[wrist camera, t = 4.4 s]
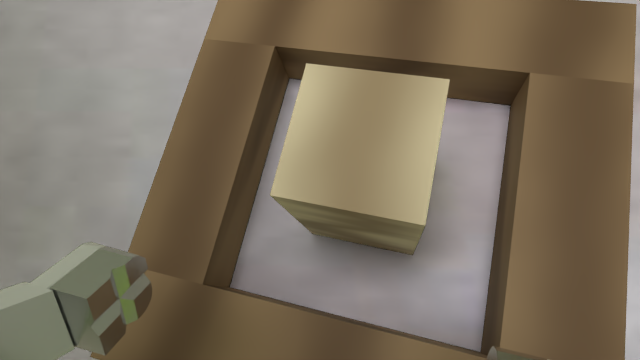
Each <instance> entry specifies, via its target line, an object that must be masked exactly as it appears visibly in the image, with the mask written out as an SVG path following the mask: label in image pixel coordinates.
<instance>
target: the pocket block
mask: <svg viewBox="0 0 640 360" xmlns="http://www.w3.org/2000/svg"><path fill="white" fill-rule="evenodd" d="M635 32H636V4H626V3H611V2H595V1H580V0H218V2H217V5H216V8H215V11H214V13H213V16H212V19H211V22H210V25H209V27H208V30H207V33H206V36H205V39H204V41H203V44H202V47H201V50H200V52H199V55H198V58H197V61H196V64H195V66H194V69H193V72H192V75H191V78H190V80H189V83H188V86H187V89H186V92H185V94H184V97H183V100H182V103H181V105H180V108H179V111H178V114H177V117H176V119H175V122H174V125H173V128H172V131H171V133H170V136H169V139H168V142H167V145H166V147H165V150H164V153H163V156H162V158H161V161H160V164H159V167H158V170H157V172H156V175H155V178H154V181H153V184H152V186H151V189H150V192H149V195H148V197H147V200H146V203H145V206H144V209H143V211H142V214H141V217H140V220H139V223H138V225H137V228H136V231H135V234H134V237H133V239H132V242H131V245H130V248H129V250H128V252H129V253H132V254H136V255H139V256H142V257H144V258H145V259H146V263H147V266H148V269H147V271H146V272H145V273H144V274H145V275H146V277H147V278H148V279H149V280H150V282H151V285H152V298H151V301H150V303H149V305H148V307H147V309H146V311H145V312H144V313H143V314H142V316H141V317H140V318H139V319H138V320H136V321H133V322H131V323H129V324H127V326H126V334H125V335H124V336H123V337H122V338H121V339H120V340H119V341H118V342H117V344H116V345H115V346H114V347H113V348H112V349H111V350H110V351H109V352H108V354H107V355H106V356H104V355H101V354H98V353H94V352H92V354H91V356H90V357H93V358H96V359H99V360H487V356H488V353H489V351H490V349H491V348H492V347H493V346H496V347H500V348H504V349H508V350H512V351H516V352H521V353H525V354H529V355H533V356H537V357H541V358H545V359H546V360H625V331H626V301H627V272H628V242H629V212H630V182H631V152H632V122H633V92H634V62H635ZM306 63H308V64H317V65H326V66H335V67H344V68H353V69H362V70H371V71H380V72H389V73H397V74H406V75H415V76H424V77H433V78H442V79H450V81H449V87H448V93H447V97H448V98H456V99H464V100H472V101H481V102H489V103H497V104H505V105H511V107H510V115H509V123H508V132H507V140H506V148H505V156H504V165H503V173H502V181H501V189H500V198H499V206H498V214H497V222H496V231H495V239H494V247H493V255H492V264H491V272H490V280H489V288H488V297H487V305H486V313H485V321H484V330H483V338H482V346H481V352H477V351H473V350H469V349H466V348H462V347H458V346H454V345H450V344H446V343H442V342H438V341H435V340H431V339H427V338H423V337H419V336H415V335H411V334H408V333H404V332H400V331H396V330H392V329H388V328H384V327H381V326H377V325H373V324H369V323H365V322H361V321H357V320H354V319H350V318H346V317H342V316H338V315H334V314H330V313H326V312H323V311H319V310H315V309H311V308H307V307H303V306H299V305H296V304H292V303H288V302H284V301H280V300H276V299H272V298H269V297H265V296H261V295H257V294H253V293H249V292H245V291H242V290H238V289H234V288H230V287H229V286H230V283H231V279H232V276H233V272H234V269H235V265H236V262H237V258H238V255H239V251H240V248H241V244H242V241H243V237H244V234H245V230H246V227H247V223H248V220H249V216H250V213H251V209H252V206H253V202H254V199H255V195H256V192H257V188H258V185H259V181H260V178H261V175H262V171H263V168H264V164H265V161H266V157H267V154H268V150H269V147H270V143H271V140H272V136H273V133H274V129H275V126H276V122H277V119H278V115H279V112H280V108H281V105H282V101H283V98H284V94H285V91H286V87H287V84H288V80H289V78H293V79H301V80H302V77H303V73H304V70H305V66H306Z"/></svg>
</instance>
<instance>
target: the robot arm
mask: <svg viewBox="0 0 640 360" xmlns="http://www.w3.org/2000/svg"><path fill="white" fill-rule="evenodd" d="M147 269H148V266H147V263H146V259H145V258H144V257H142V256H139V255H136V254H132V253H129V252H125V251H122V250H118V249H115V248H111V247H108V246H103V245H100V244H96V243H93V242H89V243H85V244H82V245H81V246H79V247H78V248H77V249H75V250H74V251H73V252H71V253H70V254H68V255H67V256H66V257H64V258H63V259H62V260H60V261H59V262H58V263H56V264H55V265H54V266H52V267H51V268H49V269H48V270H47V271H45V272H44V273H43V274H41V275H40V276H39V277H37V278H36V279H35V280H33V281H32V282H31V283H27V282H23V283H20V284H17V285H14V286H11V287H8V288H5V289H2V290H0V360H56V359H58V358H59V357H61V356H63V355H65V354H66V353H68V352H70V351H72V350H74V349H75V348H74V347H77V348H81V349H84V350H87V351H91V352H94V353H98V354H101V355H104V356H106V355H107V354H108V352H109V351H110V350H111V349H112V348H113V347H114V346H115V345H116V344H117V342H118V341H119V340H120V339H121V338H122V337H123V336H124V335H125V334H126V326H127V324H129V323H131V322H133V321H136V320H138V319H139V318H140V317H141V316H142V314H143V313H144V312H145V311H146V309H147V307H148V305H149V303H150V301H151V298H152V285H151V282H150V280H149V279H148V278H147V277H146V275H145V274H144V273H145V272H146V271H147ZM487 360H546V359H545V358H541V357H537V356H533V355H529V354H525V353H521V352H516V351H512V350H508V349H504V348H500V347H496V346H493V347H492V348H491V349H490V351H489V353H488V356H487Z"/></svg>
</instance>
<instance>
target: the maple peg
mask: <svg viewBox="0 0 640 360" xmlns="http://www.w3.org/2000/svg"><path fill="white" fill-rule="evenodd" d="M449 81H450V79H442V78H433V77H424V76H415V75H406V74H397V73H389V72H380V71H371V70H362V69H353V68H344V67H335V66H326V65H317V64H308V63H306V66H305V70H304V73H303V77H302V81H301V84H300V88H299V92H298V95H297V99H296V102H295V106H294V110H293V113H292V117H291V121H290V124H289V128H288V131H287V135H286V139H285V142H284V146H283V150H282V153H281V157H280V160H279V164H278V168H277V171H276V175H275V179H274V182H273V186H272V189H271V193H270V196H271V197H272V198H274V199H275V200H276V201H277V202H278V203H279V204H280V205H281V206H282V207H283V208H285V209H286V210H287V211H288V212H289V213H290V214H291V215H292V216H293V217H295V218H296V219H297V220H298V221H299V222H300V223H301V224H302V225H303V226H304V227H306V228H307V229H308V230H309V231H310V232H311V233H312V234H316V235H321V236H325V237H330V238H335V239H339V240H344V241H349V242H353V243H358V244H363V245H367V246H372V247H377V248H382V249H386V250H391V251H396V252H400V253H405V254H410V255H413V253H414V251H415V249H416V246H417V244H418V242H419V239H420V237H421V235H422V232H423V230H424V227H425V224H426V218H427V213H428V207H429V201H430V195H431V189H432V183H433V177H434V171H435V165H436V159H437V153H438V147H439V141H440V135H441V129H442V123H443V117H444V111H445V105H446V99H447V93H448V87H449Z"/></svg>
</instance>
